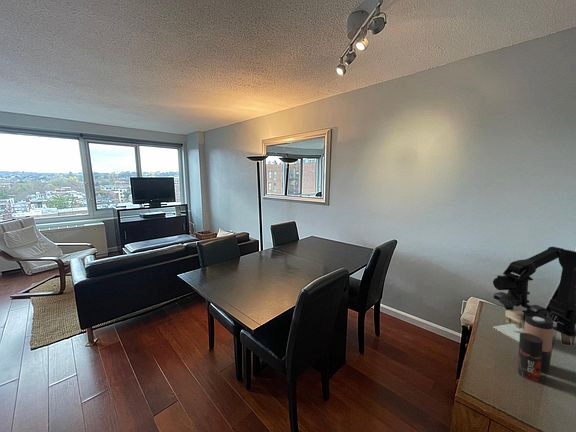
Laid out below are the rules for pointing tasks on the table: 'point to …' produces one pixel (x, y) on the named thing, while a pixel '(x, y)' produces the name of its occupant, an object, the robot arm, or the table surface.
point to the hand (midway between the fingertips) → (517, 320)
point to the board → (510, 331)
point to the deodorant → (530, 356)
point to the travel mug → (541, 335)
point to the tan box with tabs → (515, 317)
